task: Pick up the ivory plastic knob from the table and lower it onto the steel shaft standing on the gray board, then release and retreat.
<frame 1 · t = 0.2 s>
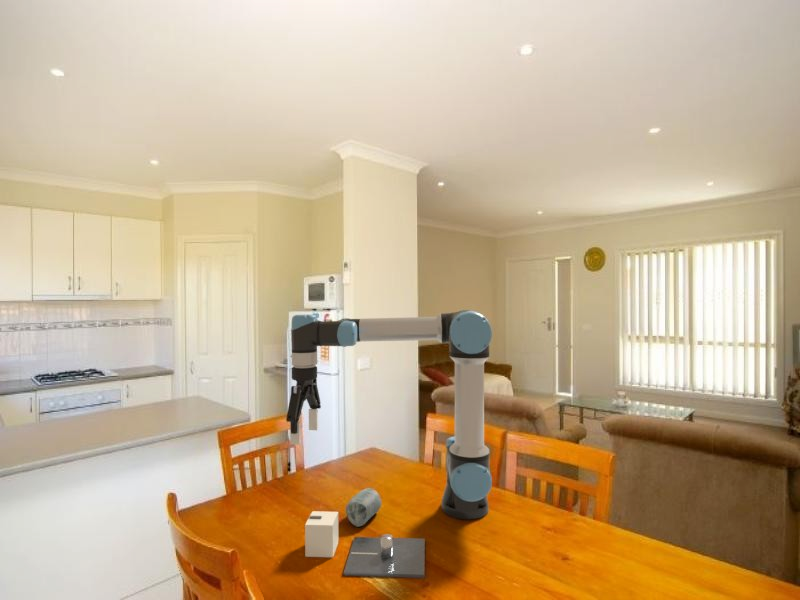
hand: (304, 436, 131), 27 cm above the table, fingers open, 13 cm apart
spool: (363, 519, 136), on the table
gray board: (386, 557, 115), on the table
knob: (322, 549, 119), on the table
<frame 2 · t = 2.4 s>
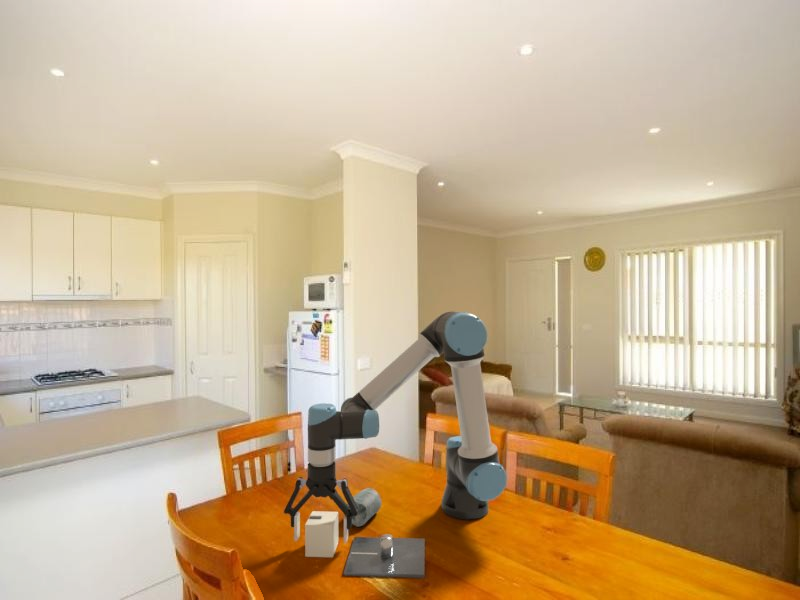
hand: (321, 539, 119), 3 cm above the table, fingers open, 13 cm apart
nothing on the table moved.
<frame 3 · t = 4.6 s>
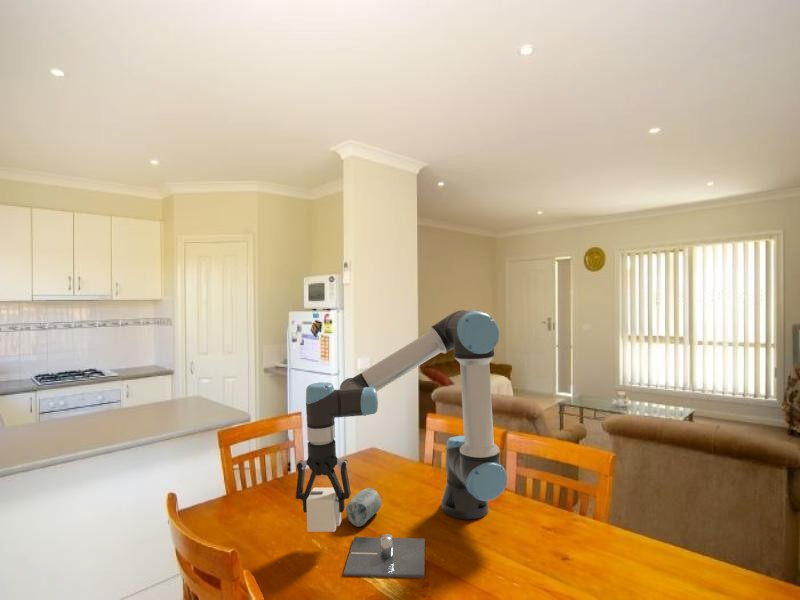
hand: (324, 523, 119), 7 cm above the table, fingers closed on knob, 7 cm apart
knob: (324, 524, 119), point 7 cm above the table, touching gripper
everything else where it was.
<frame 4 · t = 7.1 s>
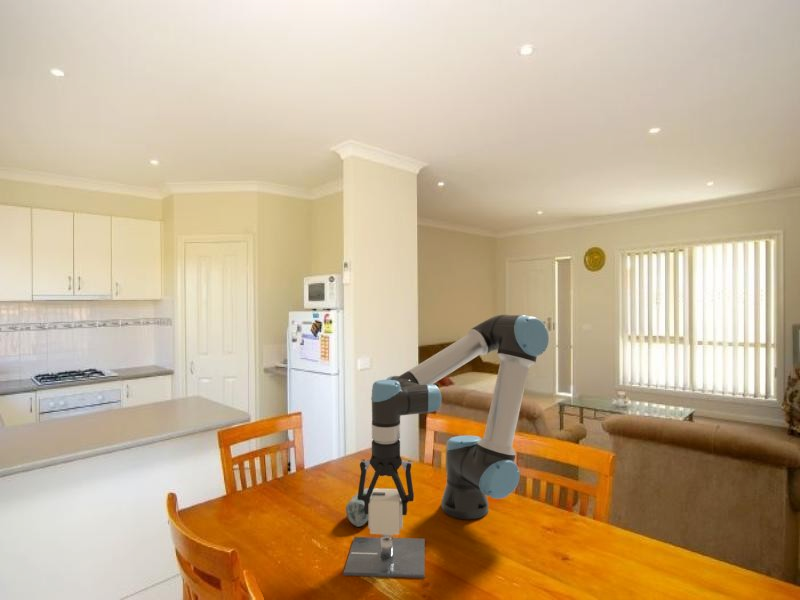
hand: (385, 525, 115), 8 cm above the table, fingers closed on knob, 7 cm apart
knob: (385, 526, 115), point 8 cm above the table, touching gripper
everything else where it was.
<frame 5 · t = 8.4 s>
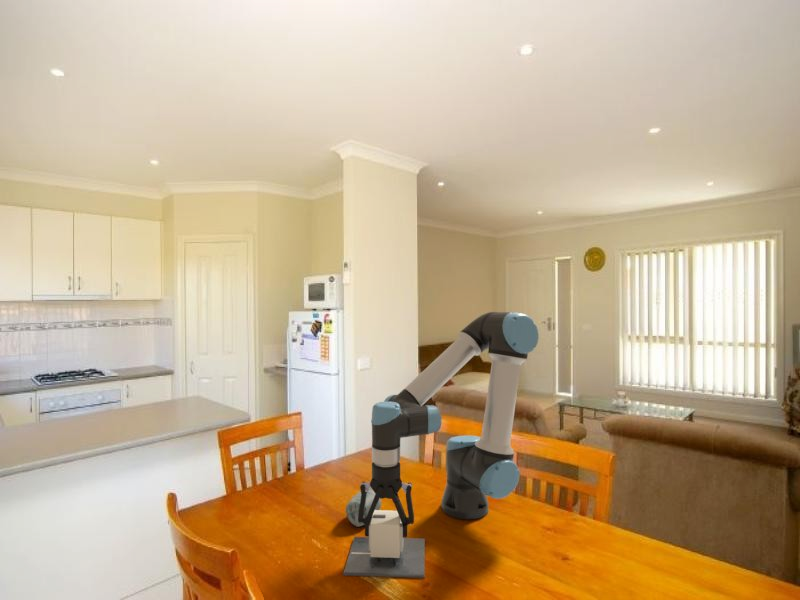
hand: (386, 548, 115), 2 cm above the table, fingers closed on knob, 7 cm apart
knob: (386, 549, 115), point 2 cm above the table, touching gripper
everything else where it was.
when the fingers open (2 cm above the table, at t = 9.7 s): knob stays where it is, resting on gray board.
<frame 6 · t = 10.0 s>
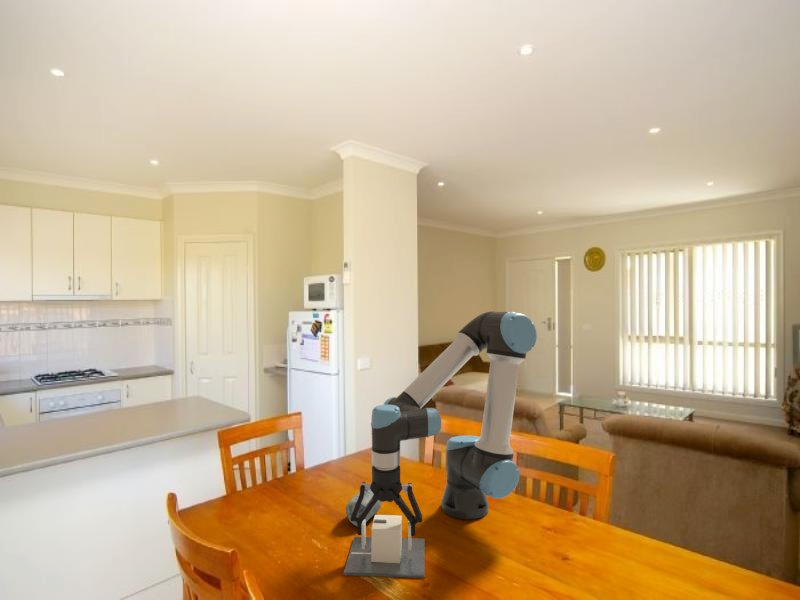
hand: (386, 547, 115), 3 cm above the table, fingers open, 11 cm apart
knob: (386, 554, 115), point 1 cm above the table, touching gray board
everything else where it was.
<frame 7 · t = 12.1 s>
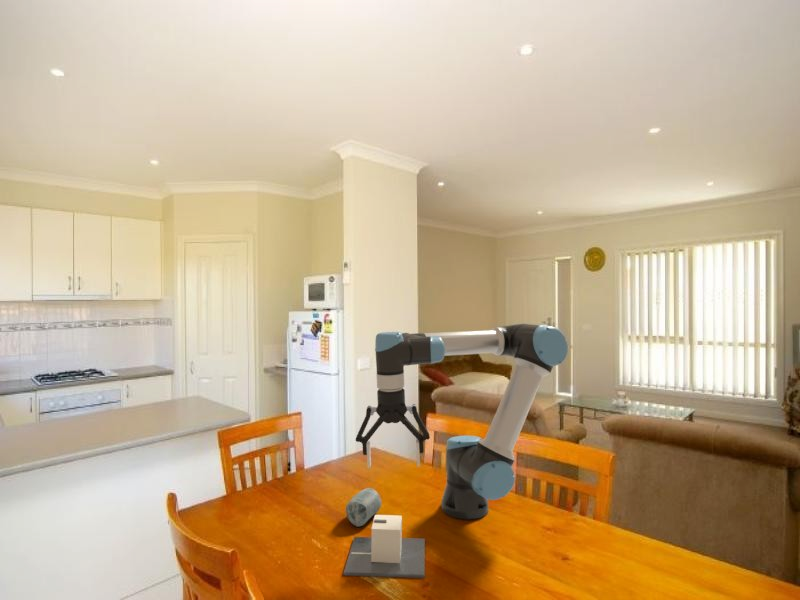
hand: (393, 465, 120), 23 cm above the table, fingers open, 13 cm apart
nothing on the table moved.
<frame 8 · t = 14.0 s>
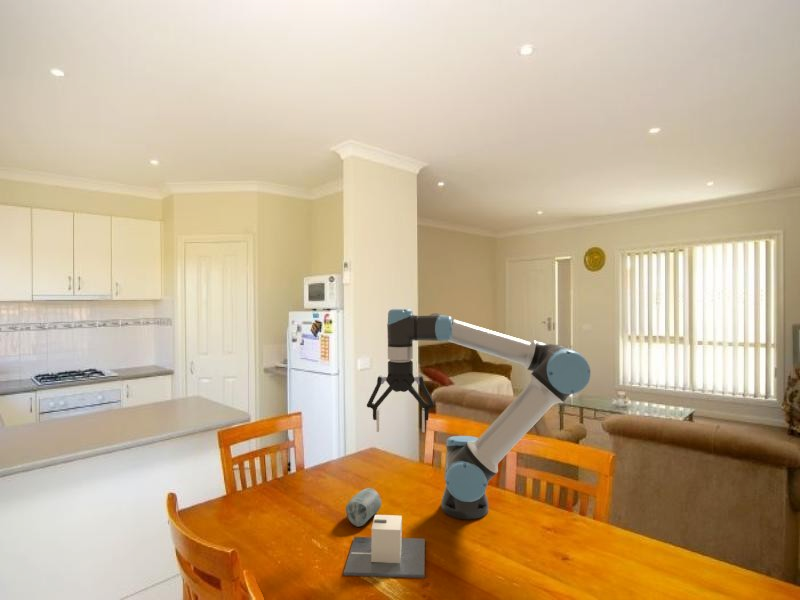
hand: (400, 430, 131), 29 cm above the table, fingers open, 13 cm apart
nothing on the table moved.
at the end: knob 0.0 cm off-centre on the gray board, point 0.9 cm above the gray board's base; knob tilted 1°; the gripper is holding nothing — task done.
